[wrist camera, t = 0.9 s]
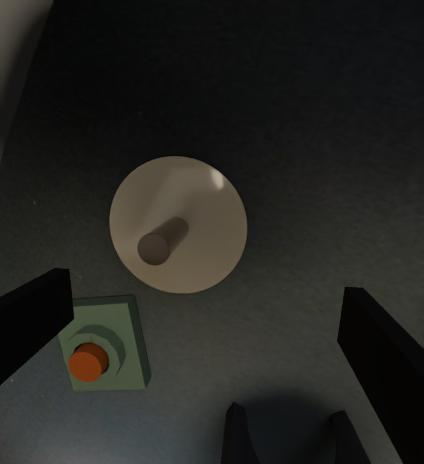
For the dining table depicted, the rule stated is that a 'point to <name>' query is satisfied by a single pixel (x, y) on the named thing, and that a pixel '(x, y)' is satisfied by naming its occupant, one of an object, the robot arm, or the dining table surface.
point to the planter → (243, 454)
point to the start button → (88, 362)
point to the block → (109, 342)
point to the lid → (178, 224)
